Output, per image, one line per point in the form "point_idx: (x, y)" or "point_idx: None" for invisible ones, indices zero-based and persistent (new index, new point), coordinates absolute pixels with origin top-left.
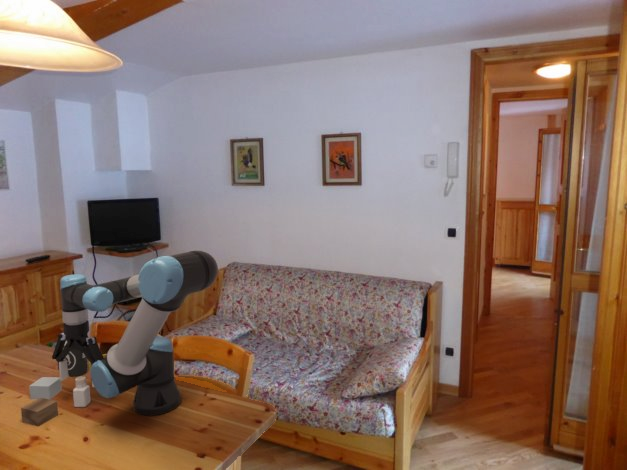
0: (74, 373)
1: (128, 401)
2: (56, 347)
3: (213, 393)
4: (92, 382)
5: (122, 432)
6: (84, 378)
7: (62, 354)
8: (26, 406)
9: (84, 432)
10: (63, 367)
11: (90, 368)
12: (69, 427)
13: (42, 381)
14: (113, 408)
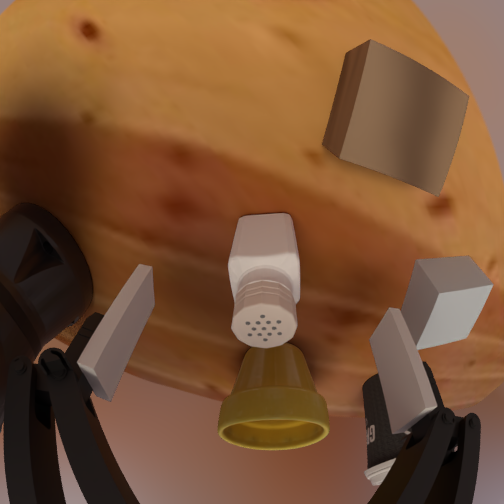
0: None
1: (116, 272)
2: (466, 501)
3: None
4: (136, 284)
5: (22, 107)
6: (233, 327)
7: (419, 476)
8: (456, 107)
9: (114, 53)
10: (401, 382)
11: (306, 400)
12: (196, 59)
13: (463, 317)
14: (125, 225)
